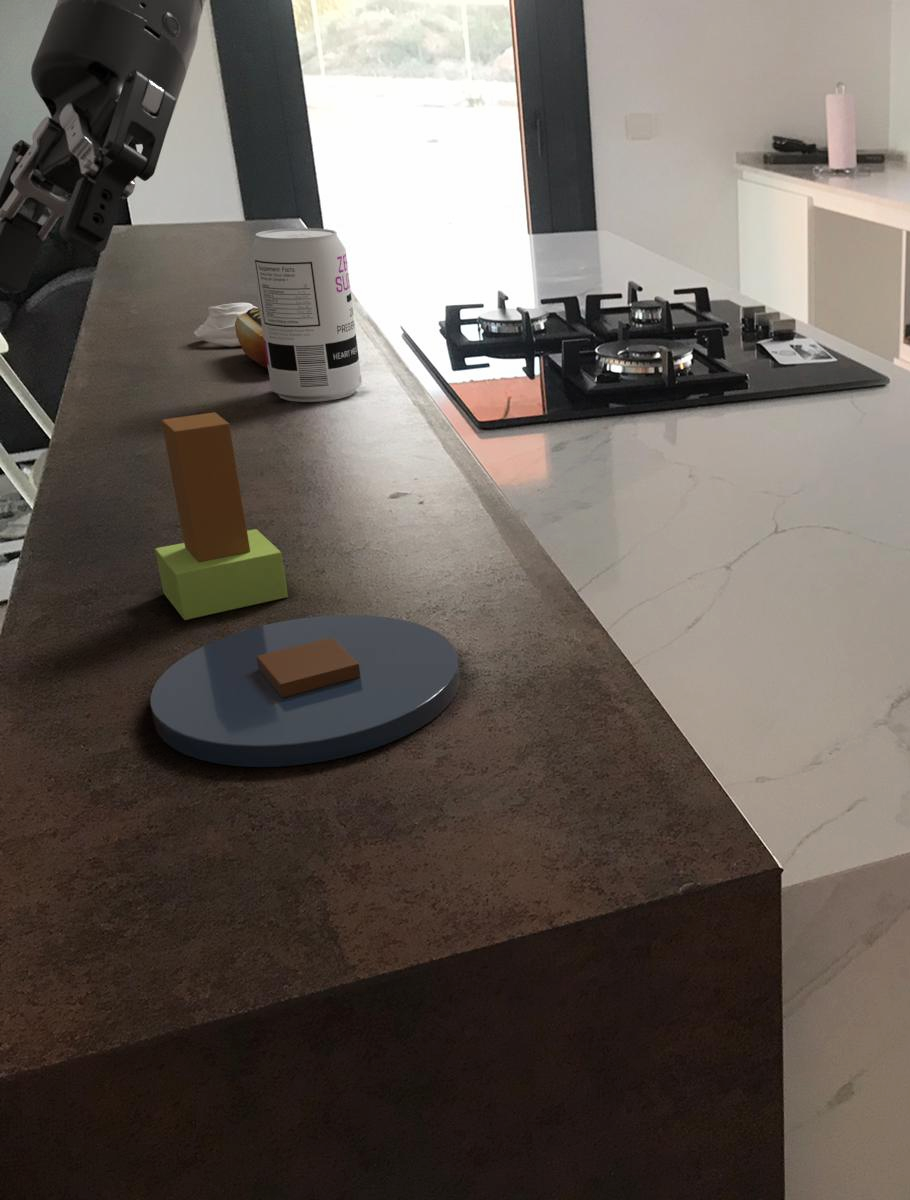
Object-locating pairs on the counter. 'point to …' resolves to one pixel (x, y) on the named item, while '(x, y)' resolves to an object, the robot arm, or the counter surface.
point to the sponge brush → (213, 527)
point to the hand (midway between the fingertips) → (40, 266)
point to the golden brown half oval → (251, 336)
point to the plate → (304, 693)
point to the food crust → (308, 667)
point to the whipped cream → (222, 324)
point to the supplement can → (306, 314)
